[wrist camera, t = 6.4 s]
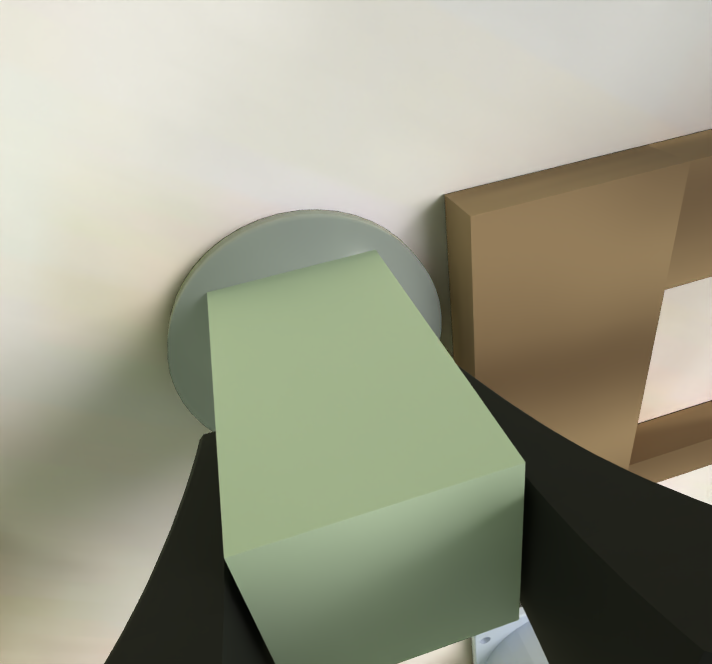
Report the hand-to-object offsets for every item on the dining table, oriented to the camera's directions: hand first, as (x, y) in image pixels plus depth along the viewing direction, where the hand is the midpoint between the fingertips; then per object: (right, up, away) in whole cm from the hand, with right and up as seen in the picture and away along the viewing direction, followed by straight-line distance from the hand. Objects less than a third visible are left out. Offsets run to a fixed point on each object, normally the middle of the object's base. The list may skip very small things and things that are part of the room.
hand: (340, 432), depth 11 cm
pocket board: (+11, +3, +6) cm, 13 cm away
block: (-1, +2, +2) cm, 3 cm away
